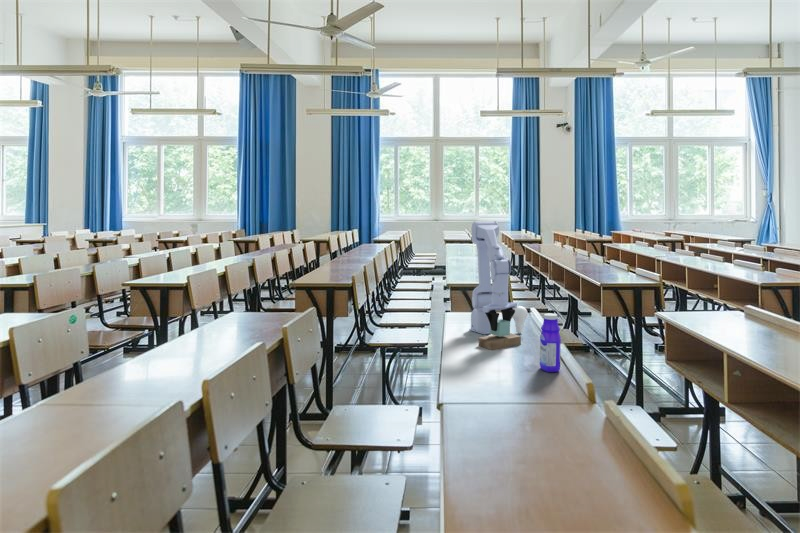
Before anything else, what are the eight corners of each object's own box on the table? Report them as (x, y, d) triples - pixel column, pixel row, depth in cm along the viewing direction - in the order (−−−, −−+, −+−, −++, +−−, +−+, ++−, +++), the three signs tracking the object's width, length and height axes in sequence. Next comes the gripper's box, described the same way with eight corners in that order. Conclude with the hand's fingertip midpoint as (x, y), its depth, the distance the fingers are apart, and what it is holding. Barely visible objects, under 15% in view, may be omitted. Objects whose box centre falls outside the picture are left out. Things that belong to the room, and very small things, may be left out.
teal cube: (490, 333, 201) (490, 320, 201) (500, 332, 204) (500, 318, 203) (499, 336, 197) (499, 322, 196) (509, 334, 200) (510, 321, 199)
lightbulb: (526, 331, 220) (526, 304, 219) (528, 335, 214) (528, 307, 213) (510, 331, 221) (510, 304, 220) (512, 335, 215) (512, 307, 214)
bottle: (536, 366, 174) (537, 312, 172) (554, 365, 175) (555, 311, 173) (544, 373, 167) (545, 317, 165) (563, 372, 168) (564, 316, 166)
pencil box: (478, 345, 200) (478, 337, 200) (507, 340, 207) (507, 332, 207) (491, 350, 194) (491, 341, 194) (521, 344, 201) (521, 336, 201)
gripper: (492, 296, 192) (491, 334, 193) (523, 292, 199) (522, 329, 201) (479, 293, 198) (478, 330, 199) (509, 289, 205) (509, 325, 207)
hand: (499, 329), depth 200 cm, fingers closed on teal cube, 5 cm apart
